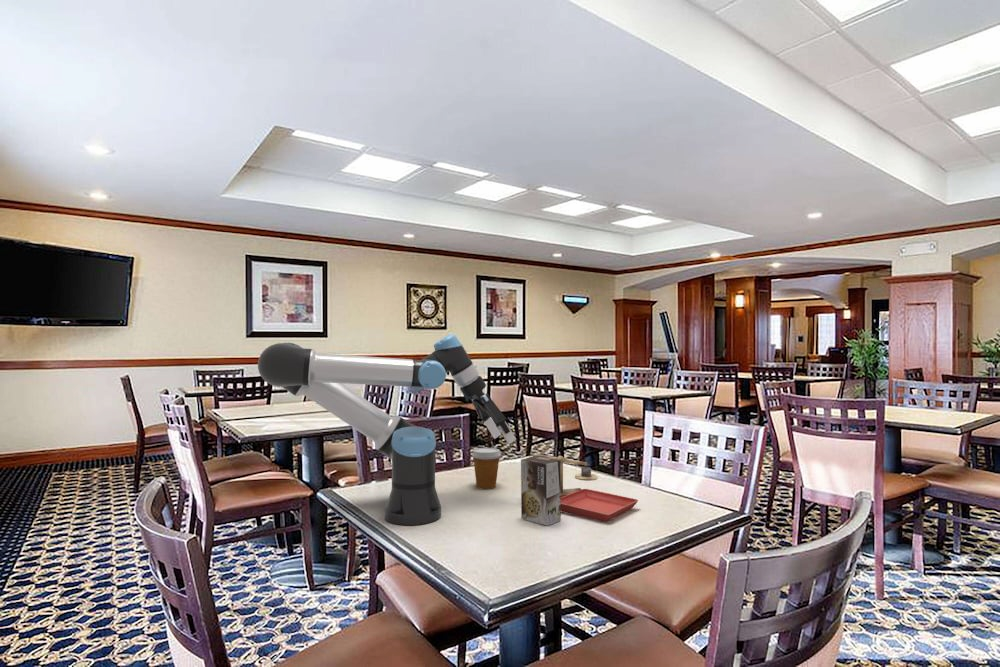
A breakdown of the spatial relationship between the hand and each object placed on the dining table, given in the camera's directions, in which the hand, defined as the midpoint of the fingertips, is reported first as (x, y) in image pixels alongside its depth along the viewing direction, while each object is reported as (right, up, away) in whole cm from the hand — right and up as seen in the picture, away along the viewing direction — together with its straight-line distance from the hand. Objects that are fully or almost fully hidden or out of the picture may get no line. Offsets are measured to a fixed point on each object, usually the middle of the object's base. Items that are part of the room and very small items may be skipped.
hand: (504, 439), depth 170 cm
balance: (+17, -18, -2) cm, 24 cm away
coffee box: (+9, -17, -23) cm, 30 cm away
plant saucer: (+26, -18, -15) cm, 34 cm away
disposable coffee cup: (-6, -18, +11) cm, 22 cm away
